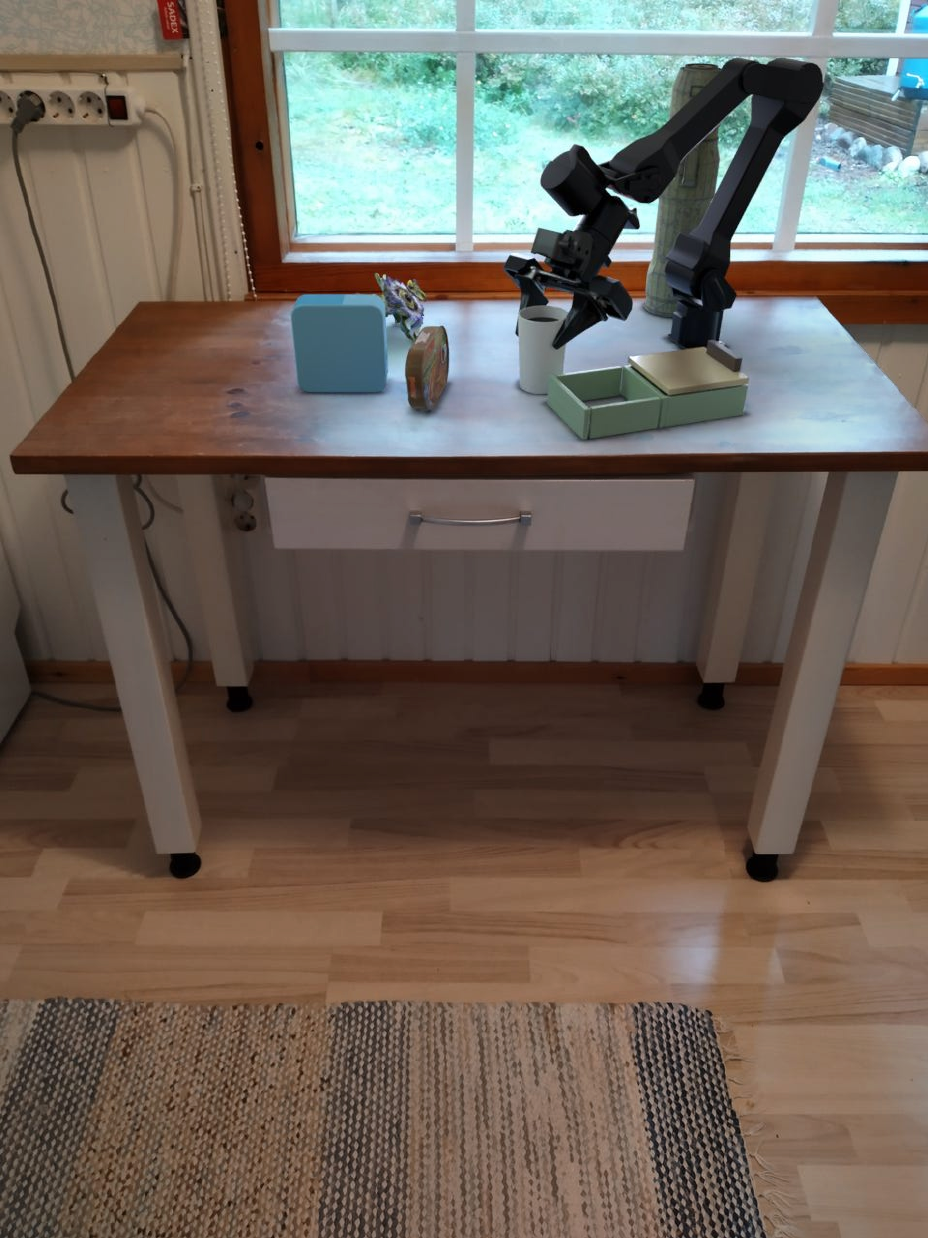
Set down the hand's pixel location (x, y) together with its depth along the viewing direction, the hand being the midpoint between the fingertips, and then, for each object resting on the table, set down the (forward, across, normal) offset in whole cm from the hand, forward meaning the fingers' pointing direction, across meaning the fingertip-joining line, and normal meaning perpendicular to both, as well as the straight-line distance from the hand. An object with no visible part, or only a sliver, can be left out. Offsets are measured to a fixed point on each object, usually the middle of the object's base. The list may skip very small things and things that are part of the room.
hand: (535, 341), depth 131 cm
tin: (+13, -8, -4) cm, 16 cm away
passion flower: (+5, -28, +4) cm, 29 cm away
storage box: (+1, +15, +8) cm, 17 cm away
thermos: (-24, -5, +34) cm, 41 cm away
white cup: (+4, 0, +6) cm, 7 cm away
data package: (+17, -19, -8) cm, 27 cm away
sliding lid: (-5, +17, +9) cm, 20 cm away
